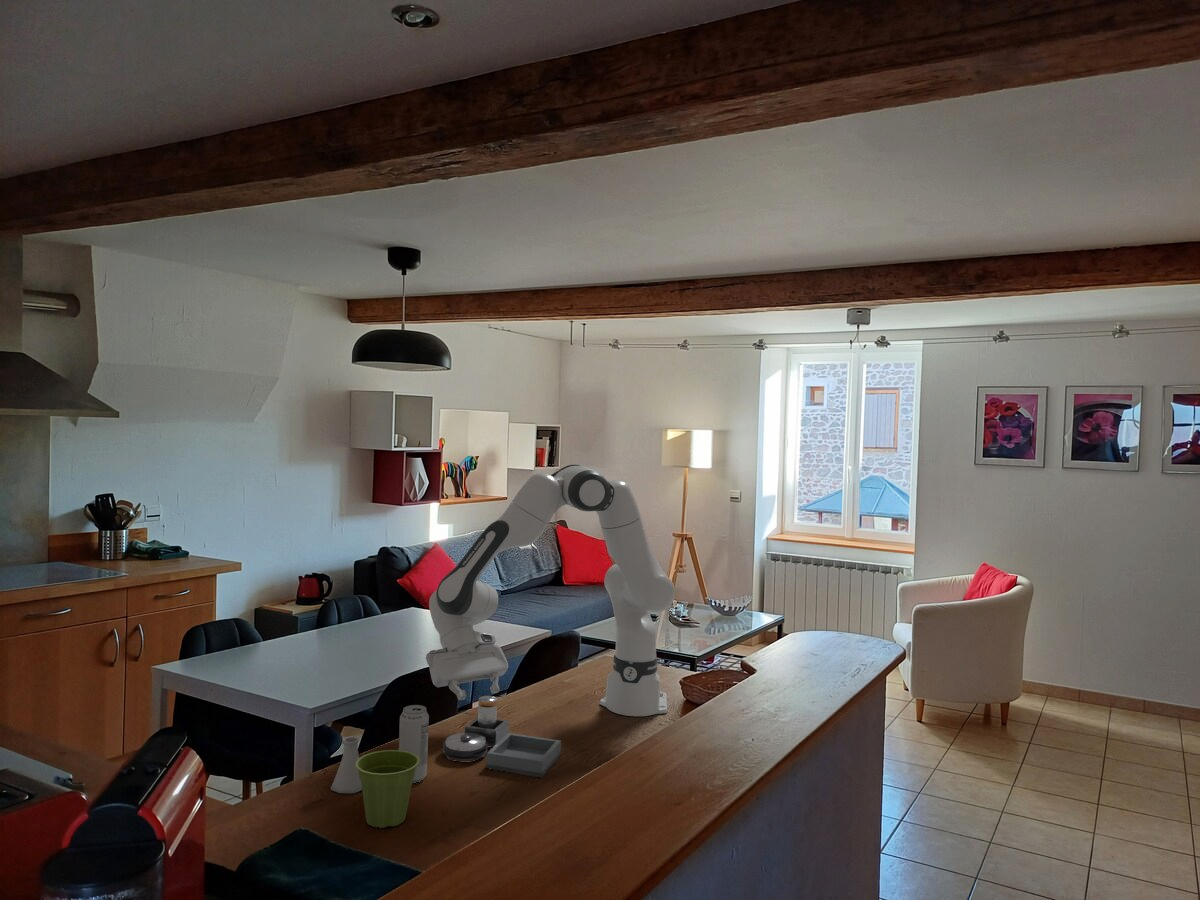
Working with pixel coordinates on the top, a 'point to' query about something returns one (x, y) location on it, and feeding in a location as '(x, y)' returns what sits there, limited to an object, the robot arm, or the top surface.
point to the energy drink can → (415, 736)
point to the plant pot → (386, 785)
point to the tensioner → (474, 741)
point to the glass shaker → (487, 712)
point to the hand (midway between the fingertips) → (479, 695)
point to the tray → (524, 755)
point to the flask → (348, 769)
